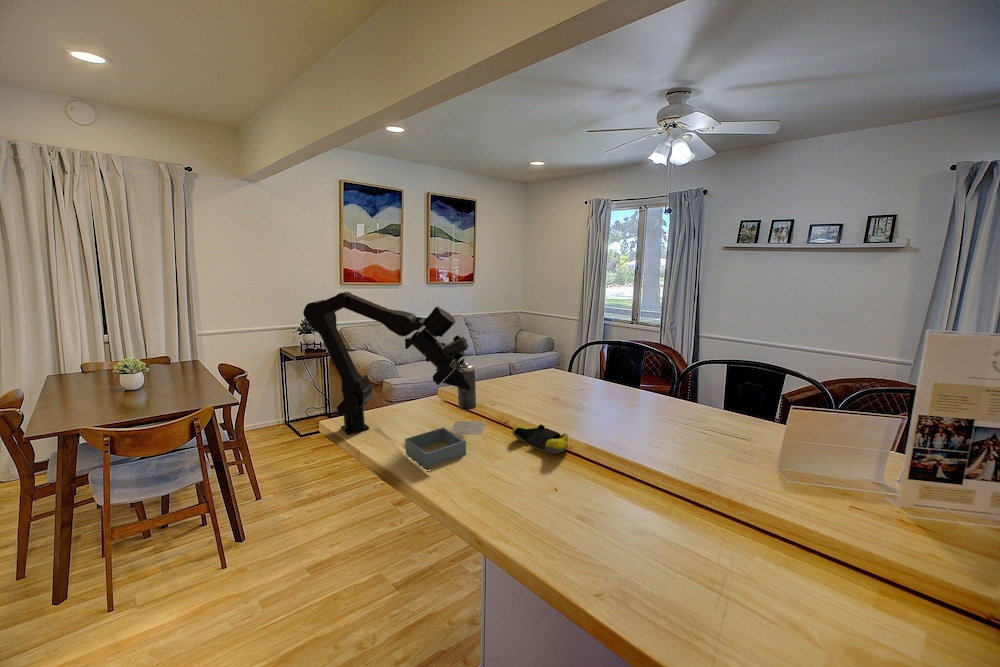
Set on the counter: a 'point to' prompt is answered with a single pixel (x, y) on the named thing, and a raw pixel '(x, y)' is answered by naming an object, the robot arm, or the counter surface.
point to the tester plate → (468, 427)
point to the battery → (464, 396)
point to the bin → (437, 456)
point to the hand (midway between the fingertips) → (471, 386)
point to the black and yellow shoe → (542, 438)
